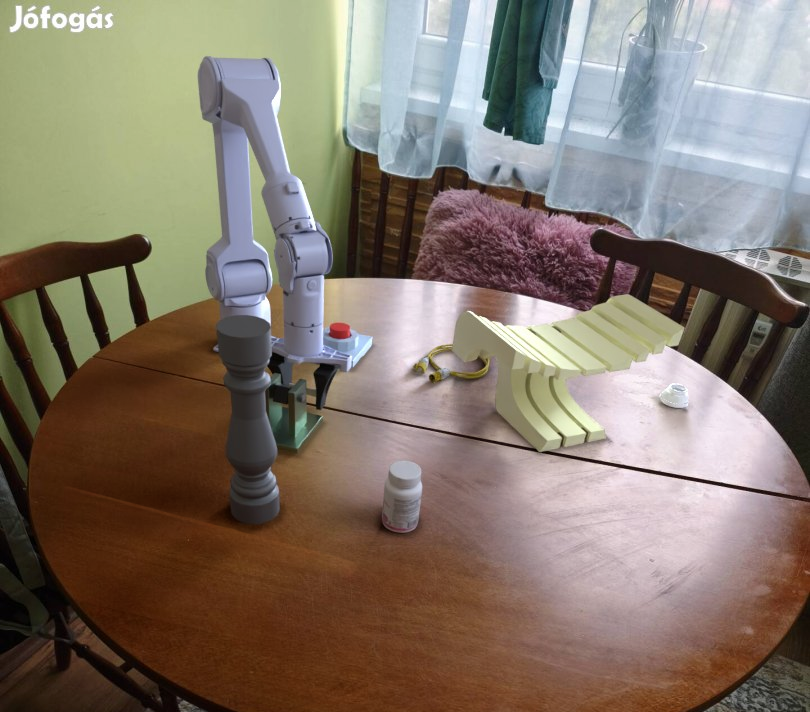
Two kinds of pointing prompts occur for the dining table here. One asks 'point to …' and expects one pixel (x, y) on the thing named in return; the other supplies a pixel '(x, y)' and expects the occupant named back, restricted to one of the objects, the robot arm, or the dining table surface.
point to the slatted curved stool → (562, 363)
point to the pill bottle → (402, 497)
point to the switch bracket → (290, 416)
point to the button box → (349, 344)
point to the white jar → (675, 396)
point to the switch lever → (283, 390)
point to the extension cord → (445, 372)
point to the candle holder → (249, 417)
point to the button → (339, 331)
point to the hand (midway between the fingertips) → (303, 403)
